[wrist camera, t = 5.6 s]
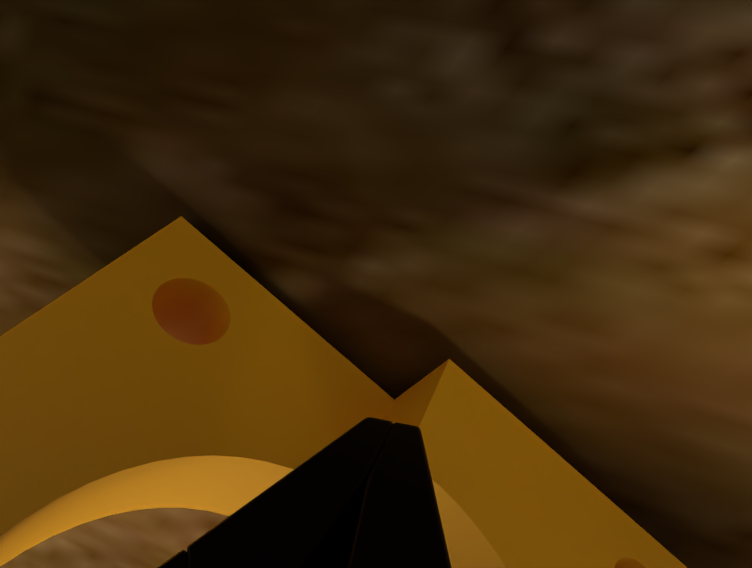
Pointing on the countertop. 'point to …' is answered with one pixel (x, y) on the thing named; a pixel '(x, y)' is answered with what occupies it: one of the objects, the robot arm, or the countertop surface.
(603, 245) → the countertop surface
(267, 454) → the pipe clamp
